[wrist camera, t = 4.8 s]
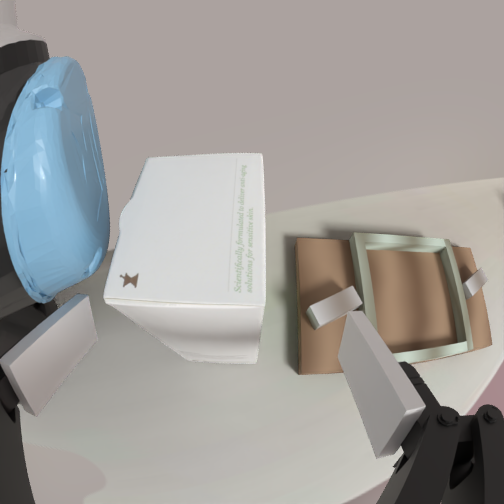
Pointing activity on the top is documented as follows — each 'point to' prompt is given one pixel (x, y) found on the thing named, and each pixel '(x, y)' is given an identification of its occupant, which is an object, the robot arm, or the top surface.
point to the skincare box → (195, 255)
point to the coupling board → (388, 297)
